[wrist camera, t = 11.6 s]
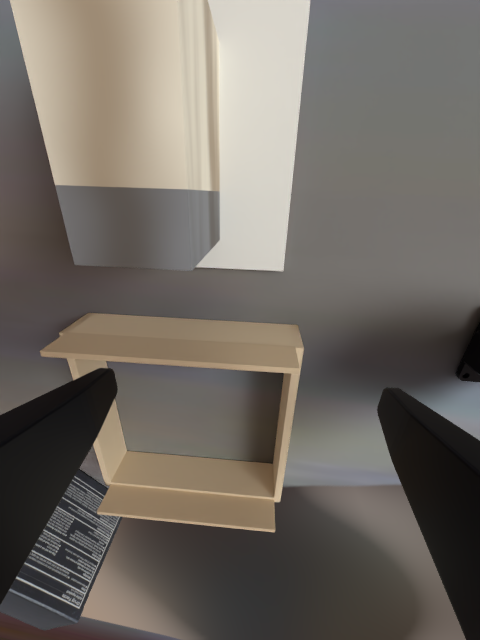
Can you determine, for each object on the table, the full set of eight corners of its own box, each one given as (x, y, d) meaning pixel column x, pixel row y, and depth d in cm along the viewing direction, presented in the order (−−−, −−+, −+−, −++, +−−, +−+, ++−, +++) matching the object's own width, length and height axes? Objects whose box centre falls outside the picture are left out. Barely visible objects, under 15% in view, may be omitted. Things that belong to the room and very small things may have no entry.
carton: (297, 323, 21) (310, 369, 15) (277, 468, 28) (281, 533, 23) (87, 311, 22) (30, 350, 16) (122, 454, 29) (91, 513, 24)
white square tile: (310, -10, 13) (312, -18, 13) (282, 269, 19) (283, 271, 19) (39, -7, 14) (32, -14, 13) (95, 260, 20) (91, 262, 19)
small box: (32, 475, 32) (-62, 590, 23) (62, 455, 30) (-28, 573, 21) (100, 518, 36) (41, 635, 26) (131, 503, 33) (79, 624, 24)
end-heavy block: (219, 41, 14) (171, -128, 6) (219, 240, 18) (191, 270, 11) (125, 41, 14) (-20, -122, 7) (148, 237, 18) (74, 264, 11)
